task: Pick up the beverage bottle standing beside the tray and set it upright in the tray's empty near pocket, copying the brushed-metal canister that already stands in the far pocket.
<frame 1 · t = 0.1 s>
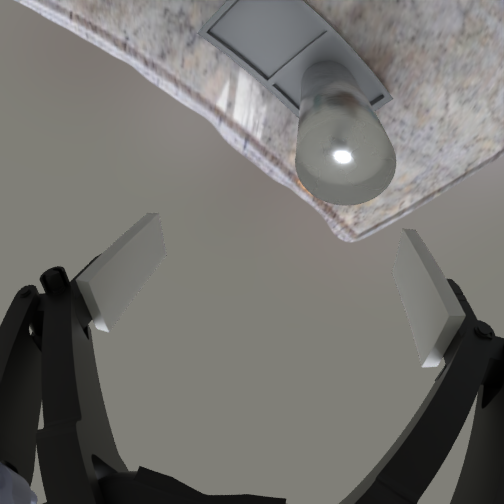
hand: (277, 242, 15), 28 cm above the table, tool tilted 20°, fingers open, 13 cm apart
canister: (329, 86, 31), point 1 cm above the table, touching tray
tray: (299, 55, 29), on the table
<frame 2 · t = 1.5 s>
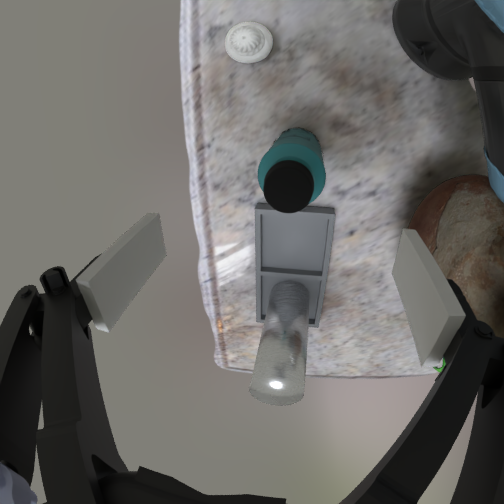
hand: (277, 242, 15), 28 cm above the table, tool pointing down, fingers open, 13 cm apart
white lidded jar: (253, 46, 32), on the table
canister: (289, 296, 50), point 1 cm above the table, touching tray
beverage bottle: (297, 147, 39), on the table
jug: (449, 220, 38), on the table, touching arm
tray: (292, 267, 49), on the table
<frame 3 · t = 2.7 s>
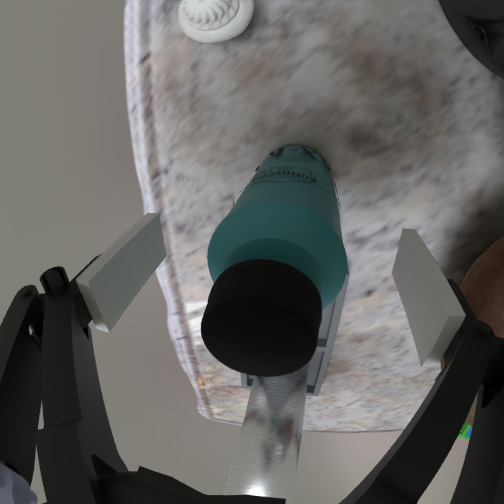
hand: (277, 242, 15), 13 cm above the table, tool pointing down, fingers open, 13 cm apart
white lidded jar: (227, 20, 19), on the table
canister: (283, 363, 38), point 1 cm above the table, touching tray
beverage bottle: (295, 174, 26), on the table
jug: (494, 271, 25), on the table, touching arm
tray: (286, 332, 36), on the table
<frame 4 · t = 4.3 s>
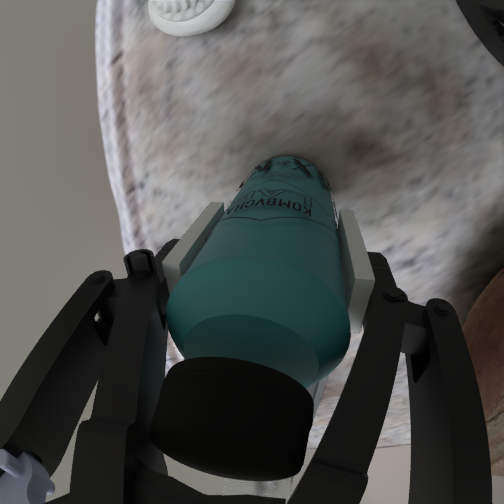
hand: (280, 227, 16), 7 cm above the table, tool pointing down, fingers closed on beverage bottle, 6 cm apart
white lidded jar: (208, 10, 16), on the table
canister: (276, 387, 34), point 1 cm above the table, touching tray
beverage bottle: (288, 188, 22), on the table, touching gripper
tray: (279, 357, 32), on the table
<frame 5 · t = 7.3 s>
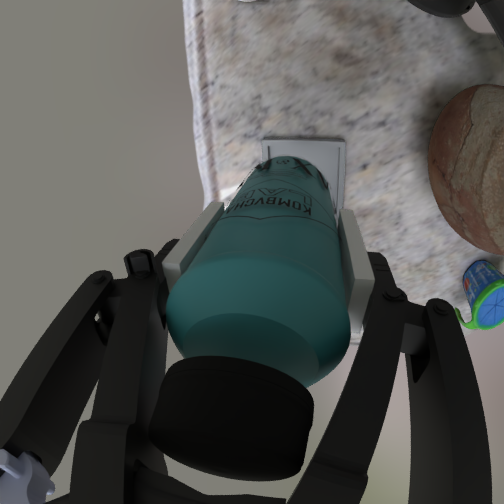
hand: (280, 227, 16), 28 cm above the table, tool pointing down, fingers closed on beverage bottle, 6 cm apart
beverage bottle: (287, 188, 22), point 20 cm above the table, touching gripper
jug: (465, 152, 33), on the table
tray: (303, 208, 44), on the table
snack cup: (476, 274, 43), on the table
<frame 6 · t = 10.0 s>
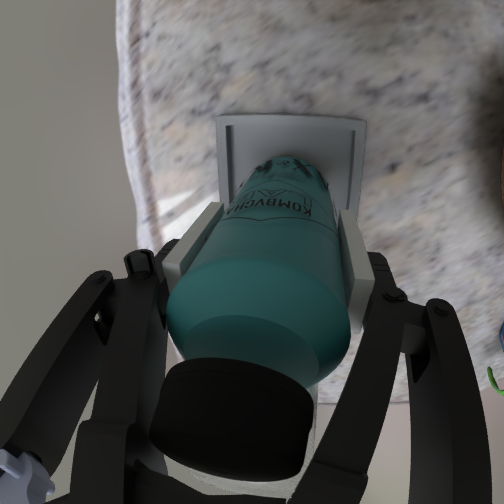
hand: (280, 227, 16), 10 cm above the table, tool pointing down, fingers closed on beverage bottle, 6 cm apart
canister: (285, 285, 29), point 1 cm above the table, touching tray
beverage bottle: (287, 188, 22), point 3 cm above the table, touching gripper
tray: (288, 233, 27), on the table
when the fingers open (9 cm above the table, at t = 10.9 s): beverage bottle drops 1 cm, resting on tray.
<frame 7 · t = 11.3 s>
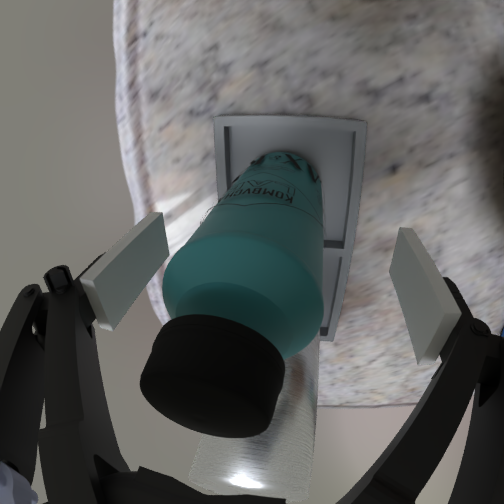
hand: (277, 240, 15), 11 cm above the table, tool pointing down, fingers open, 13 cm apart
canister: (285, 288, 29), point 1 cm above the table, touching tray
beverage bottle: (282, 182, 24), point 1 cm above the table, touching tray
tray: (288, 236, 27), on the table
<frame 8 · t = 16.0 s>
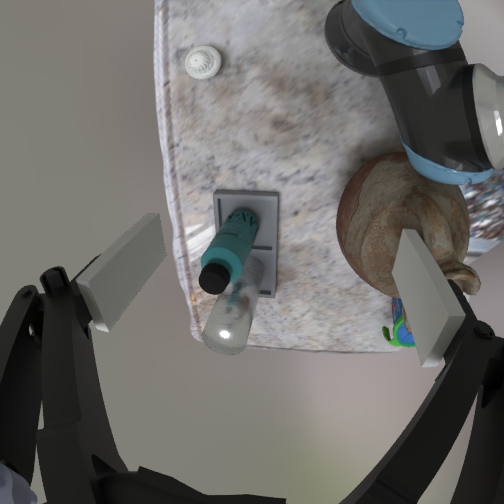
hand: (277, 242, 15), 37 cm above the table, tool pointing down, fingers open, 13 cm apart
white lidded jar: (210, 64, 41), on the table
canister: (248, 269, 60), point 1 cm above the table, touching tray
beverage bottle: (244, 220, 55), point 1 cm above the table, touching tray
jug: (388, 199, 48), on the table, touching arm
tray: (248, 244, 58), on the table
snack cup: (406, 298, 58), on the table
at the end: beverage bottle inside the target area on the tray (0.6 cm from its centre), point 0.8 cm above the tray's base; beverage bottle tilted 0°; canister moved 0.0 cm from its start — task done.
